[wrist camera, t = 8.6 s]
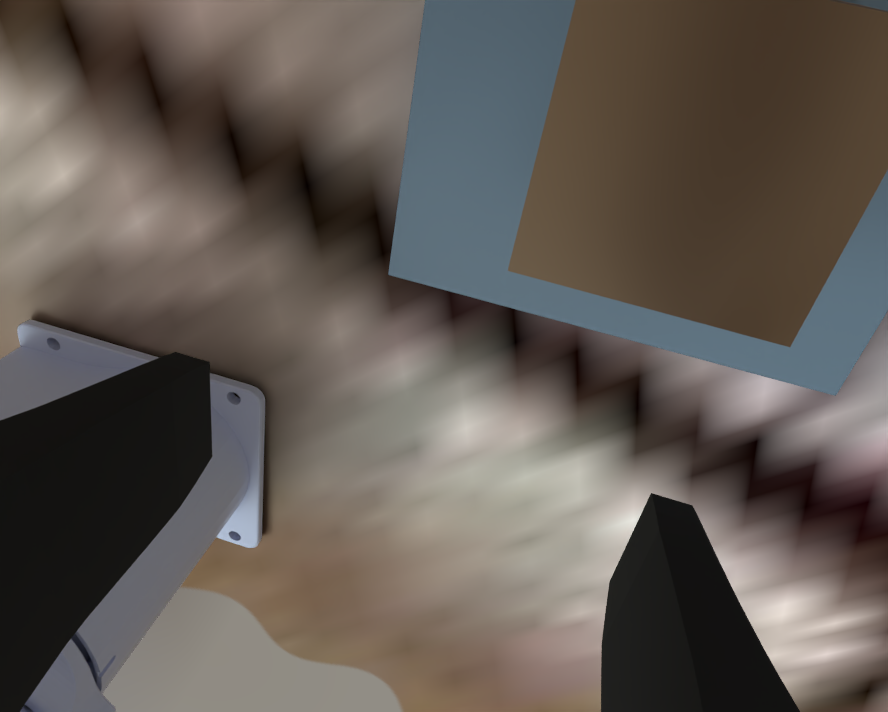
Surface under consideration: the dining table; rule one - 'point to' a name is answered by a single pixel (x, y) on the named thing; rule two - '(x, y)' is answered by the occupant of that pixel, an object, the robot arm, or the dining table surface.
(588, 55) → the walnut cube
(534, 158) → the slate board
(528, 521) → the dining table surface
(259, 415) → the robot arm
